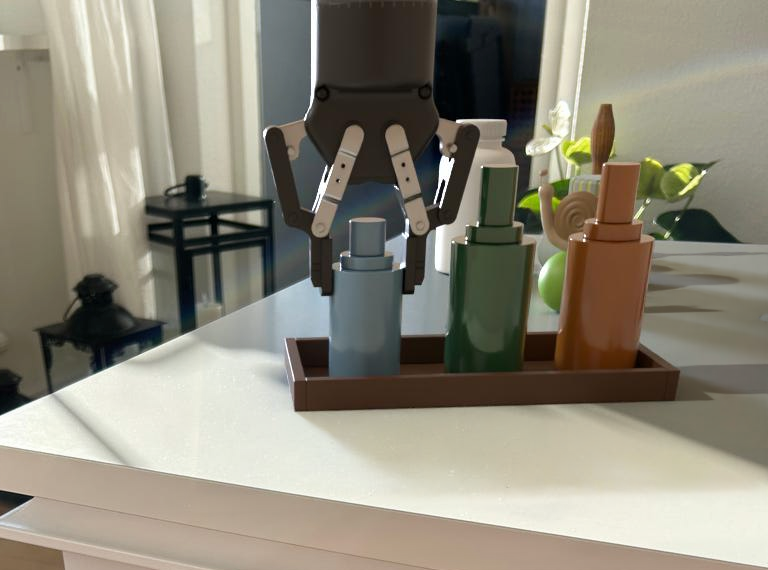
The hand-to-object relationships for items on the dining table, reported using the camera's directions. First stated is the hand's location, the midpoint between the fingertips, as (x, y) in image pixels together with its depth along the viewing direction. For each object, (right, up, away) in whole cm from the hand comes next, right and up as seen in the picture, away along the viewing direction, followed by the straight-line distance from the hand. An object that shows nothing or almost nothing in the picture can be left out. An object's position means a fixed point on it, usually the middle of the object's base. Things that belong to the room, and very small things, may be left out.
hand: (366, 292), depth 69 cm
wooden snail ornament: (+26, +14, +39) cm, 49 cm away
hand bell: (+30, +22, +52) cm, 64 cm away
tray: (+8, -6, +4) cm, 10 cm away
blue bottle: (0, -5, +3) cm, 6 cm away
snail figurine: (+20, +7, +26) cm, 34 cm away
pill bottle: (+15, +17, +44) cm, 50 cm away
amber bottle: (+16, -5, +4) cm, 18 cm away
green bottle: (+8, -5, +3) cm, 11 cm away
